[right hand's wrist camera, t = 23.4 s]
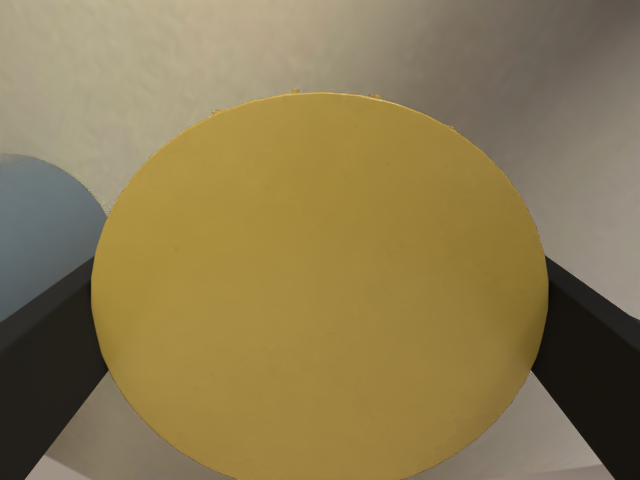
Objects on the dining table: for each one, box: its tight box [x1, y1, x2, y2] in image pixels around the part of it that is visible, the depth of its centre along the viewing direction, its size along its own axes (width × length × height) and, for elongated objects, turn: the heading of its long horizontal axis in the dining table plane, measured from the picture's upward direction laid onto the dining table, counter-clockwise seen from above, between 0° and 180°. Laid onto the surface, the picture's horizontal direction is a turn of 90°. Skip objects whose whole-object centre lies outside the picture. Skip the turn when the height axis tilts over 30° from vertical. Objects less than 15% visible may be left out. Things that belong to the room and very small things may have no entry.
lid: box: [91, 89, 548, 480], centre depth 11 cm, size 12×12×2 cm
